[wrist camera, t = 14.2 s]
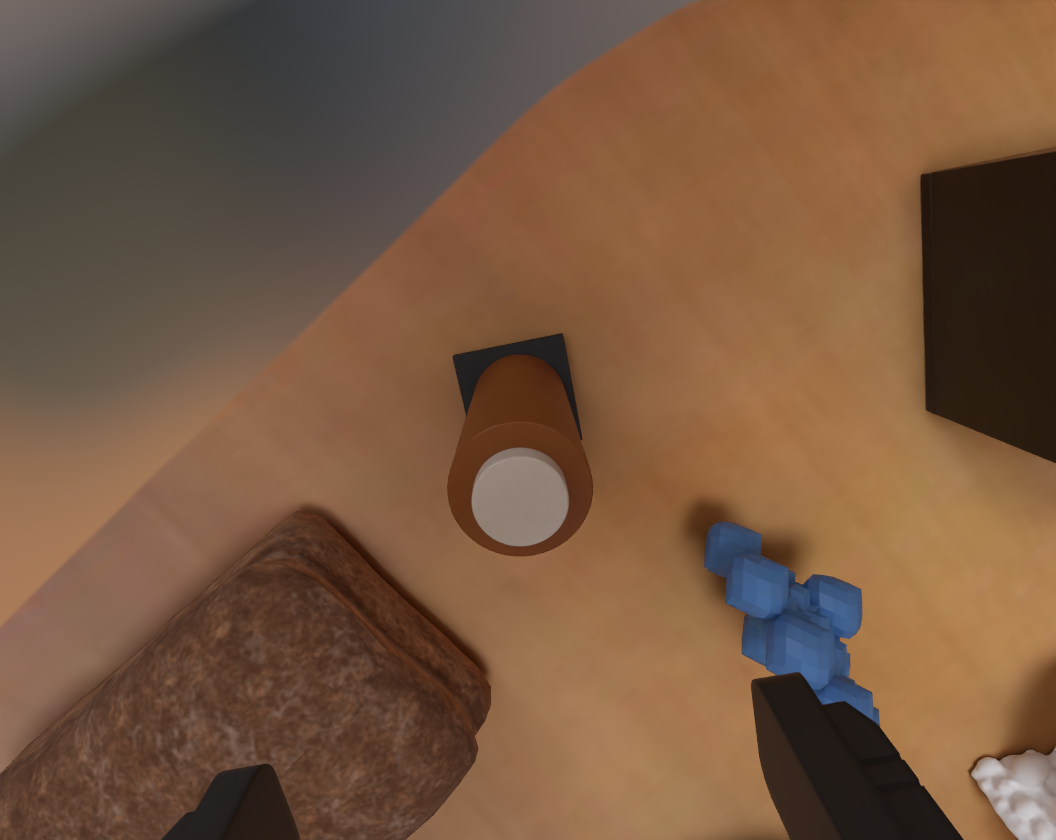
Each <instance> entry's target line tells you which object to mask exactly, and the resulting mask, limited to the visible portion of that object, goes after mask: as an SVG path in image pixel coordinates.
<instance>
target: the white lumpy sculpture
mask: <svg viewBox="0 0 1056 840" xmlns="http://www.w3.org/2000/svg"><path fill="white" fill-rule="evenodd" d="M971 776H972V777H973V778H974V779H975V780H976V781H977V782H978V786H979V788H980V789H981V790H982V791H983V792H984V793H985V794H986V795H987V797H988V799H989V802H990V803H991V805H992V806H993V809H994V810H995V812H996V813H997V814H998V816H1000V817H1001V819H1002V820H1003V822H1004V823H1005V825H1006V826H1007V827H1008V829H1009V830H1010V831H1011V832H1012V833H1013V834H1014V836H1015V837H1016V838H1017V839H1019V840H1056V746H1055V747H1054V750H1053V751H1052V753H1050V754H1049V755H1044V754H1042V753H1039V752H1036V751H1034V750H1027V751H1026V752H1025V753H1023V754H1021V755H1008V756H1007V757H1004V758H1002V759H1001V760H1000V761H997V760H996V759H995V758H991V757H985V758H982V759H981V760H979V761H978V763H977V765H976V767H975V768H974V770H973V771H972V772H971Z"/></svg>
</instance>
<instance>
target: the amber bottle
mask: <svg viewBox="0 0 1056 840" xmlns="http://www.w3.org/2000/svg"><path fill="white" fill-rule="evenodd" d="M447 491H448V500H449V505H450V508H451V511H452V513H453V516H454V518H455V520H456V521H457V523H458V524H459V526H460V527H461V529H462V530H463V531H464V532H465V533H466V534H467V535H468V536H469V537H470V538H471V539H472V540H473V541H475V542H476V543H478V544H479V545H481V546H482V547H484V548H486V549H488V550H491V551H493V552H496V553H499V554H504V555H509V556H531V555H536V554H541V553H544V552H547V551H549V550H552V549H554V548H556V547H558V546H559V545H561V544H562V543H564V542H565V541H567V540H568V539H569V538H570V537H571V536H572V535H573V534H574V533H575V532H576V531H577V530H578V529H579V528H580V526H581V525H582V523H583V522H584V520H585V518H586V516H587V514H588V512H589V509H590V506H591V502H592V496H593V481H592V475H591V471H590V467H589V464H588V461H587V458H586V455H585V451H584V448H583V445H582V442H581V439H580V435H579V432H578V429H577V426H576V423H575V420H574V416H573V413H572V410H571V407H570V404H569V401H568V397H567V394H566V391H565V388H564V385H563V382H562V380H561V378H560V376H559V375H558V373H557V372H556V371H555V370H554V369H553V368H552V367H551V366H550V365H549V364H548V363H546V362H545V361H543V360H541V359H539V358H537V357H534V356H530V355H523V354H517V355H510V356H506V357H503V358H501V359H499V360H497V361H495V362H493V363H492V364H491V365H490V366H488V367H487V368H486V369H485V371H484V372H483V373H482V374H481V376H480V378H479V380H478V382H477V384H476V387H475V390H474V394H473V397H472V400H471V403H470V407H469V410H468V413H467V417H466V420H465V423H464V426H463V430H462V433H461V436H460V439H459V443H458V446H457V449H456V452H455V456H454V459H453V462H452V465H451V469H450V473H449V477H448V485H447Z"/></svg>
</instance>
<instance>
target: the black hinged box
mask: <svg viewBox="0 0 1056 840" xmlns="http://www.w3.org/2000/svg"><path fill="white" fill-rule="evenodd" d="M921 197H922V240H923V283H924V326H925V370H926V410H927V411H929V412H931V413H934V414H936V415H938V416H941V417H943V418H946V419H948V420H951V421H953V422H956V423H958V424H961V425H963V426H965V427H968V428H970V429H973V430H975V431H978V432H980V433H983V434H985V435H987V436H990V437H992V438H995V439H997V440H1000V441H1002V442H1005V443H1007V444H1010V445H1012V446H1014V447H1017V448H1019V449H1022V450H1024V451H1027V452H1029V453H1032V454H1034V455H1037V456H1039V457H1041V458H1044V459H1046V460H1049V461H1051V462H1054V463H1056V147H1053V148H1048V149H1043V150H1038V151H1033V152H1028V153H1024V154H1019V155H1014V156H1009V157H1004V158H999V159H995V160H990V161H985V162H980V163H975V164H970V165H965V166H961V167H956V168H951V169H946V170H941V171H936V172H932V173H927V174H922V175H921Z"/></svg>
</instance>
